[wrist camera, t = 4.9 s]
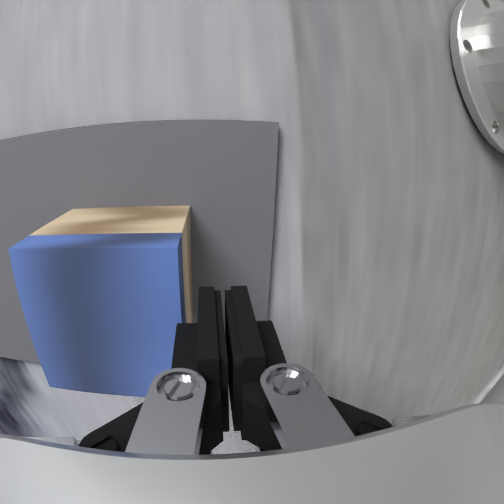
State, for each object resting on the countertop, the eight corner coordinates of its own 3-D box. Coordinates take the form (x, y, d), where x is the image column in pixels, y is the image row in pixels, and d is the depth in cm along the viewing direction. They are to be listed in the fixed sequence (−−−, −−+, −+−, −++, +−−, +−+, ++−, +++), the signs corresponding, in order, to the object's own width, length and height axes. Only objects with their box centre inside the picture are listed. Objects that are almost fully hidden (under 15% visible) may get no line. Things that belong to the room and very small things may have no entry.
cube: (189, 205, 15) (177, 247, 9) (193, 317, 17) (189, 397, 11) (72, 208, 14) (8, 248, 8) (88, 315, 16) (49, 386, 10)
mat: (276, 123, 14) (278, 122, 14) (261, 365, 19) (263, 370, 19) (-94, 168, 11) (-98, 169, 10) (-55, 340, 15) (-58, 343, 15)
